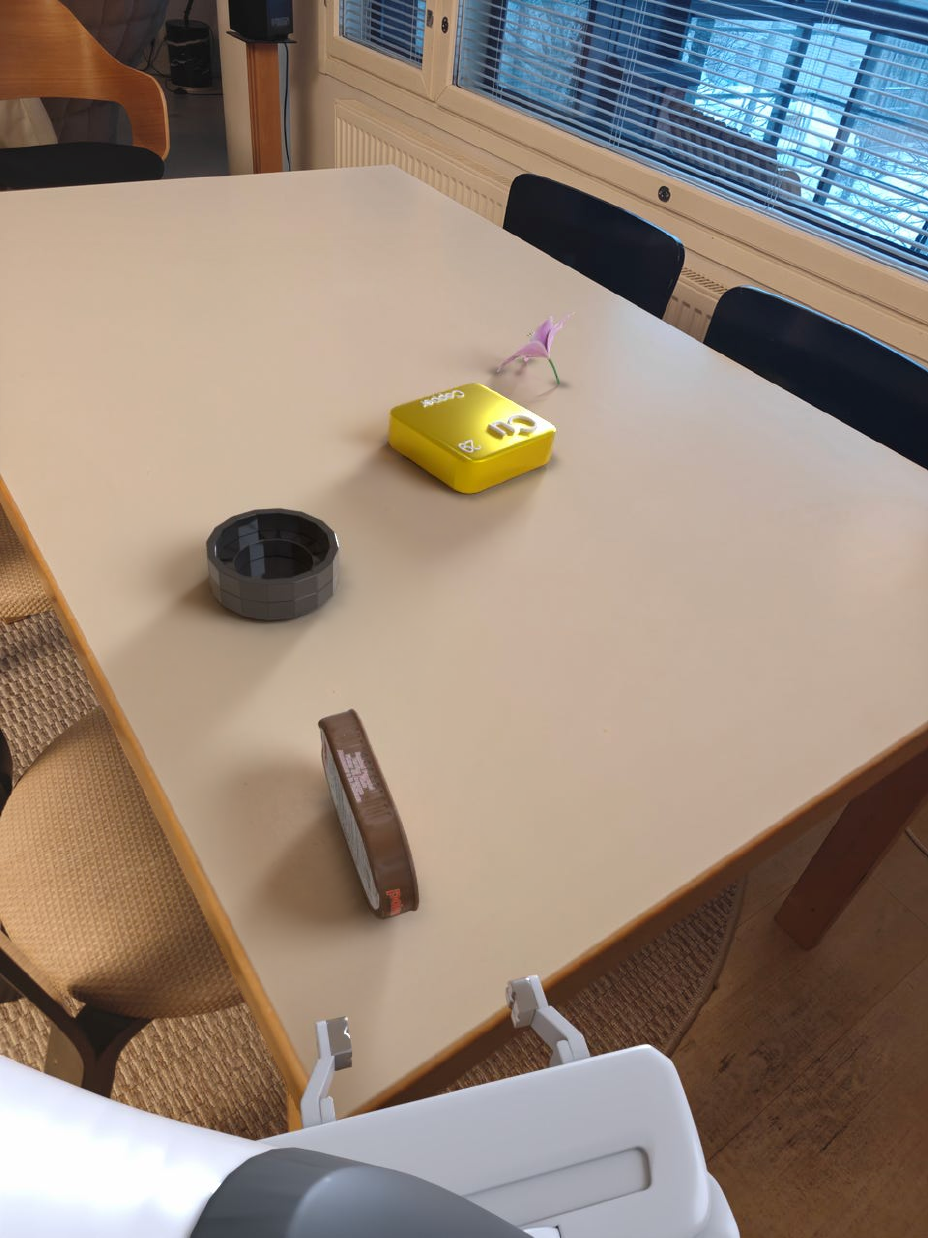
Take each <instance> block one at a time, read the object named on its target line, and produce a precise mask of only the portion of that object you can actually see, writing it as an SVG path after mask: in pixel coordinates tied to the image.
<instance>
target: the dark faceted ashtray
mask: <svg viewBox="0 0 928 1238" xmlns="http://www.w3.org/2000/svg"><path fill="white" fill-rule="evenodd" d="M335 532H336V531H334V530H333V529H332V528H331V527H330V526H329V525H328V524H327V523H326V522H325V521H323V520H322V519H320V518H318V517H315V516H314V515H311V514H309V513H306V512H303V511H300V510H294V509H287V508H282V507H275V508H258V509H252V510H249V511H245V512H242V513H238V514H234V515H232V516H230V517H228V518H227V519H226V520H224V521H222V522H221V523H219V524H218V525H217V526H215V527H214V528H213V530H212V531H211V533H210V534H209V536H208V538H207V539H206V541H205V549H206V560H207V562H206V563H207V569H208V578H209V586H210V587H209V588H210V592H211V593H212V595H213V596H214V597H215V598H216V599H217V601H218V602H219V603H220V605H221V606H223V607H224V608H226V609H228V610H230V611H232V612H234V613H236V614H238V615H240V616H242V617H245V618H246V617H247V618H252V619H258V620H264V621H275V620H286V619H294V618H298V617H301V616H304V615H306V614H308V613H311V612H314V611H316V610H318V609H319V608H320V607H322V606H324V604H325V603H327V602H328V601H329V600H330V599H331V598H332V597H334V594H335V592H336V589H337V588H338V587H337V586H338V584H339V579H340V576H339V575H340V546H339V542H338V539H337V535H336V533H335Z"/></svg>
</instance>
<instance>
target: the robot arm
mask: <svg viewBox="0 0 928 1238" xmlns="http://www.w3.org/2000/svg"><path fill="white" fill-rule="evenodd" d="M506 984H507V986H506V987H505V994H504V995H505V1000H506V1005H507V1007H508V1008H509V1009H510V1010H511V1014H510V1017H511V1021H512V1024H513V1028H514V1029H520V1028H525V1027H531V1028H532V1030H533V1031H534V1032H535V1033H536V1034H537V1035H538V1036H539V1037H540V1038H541V1039H542V1040H543V1041H544V1042H545V1043H546V1045H548V1047H549V1048H550V1049H551V1050H552V1051H553V1052H552V1054H551V1056H550V1060H549V1062H548V1064H549V1067H547V1068H543V1069H539V1070H535V1071H531V1072H527V1073H523V1074H519V1075H514V1076H511V1077H507V1078H502V1079H497V1080H495V1081H490V1082H486V1083H483V1084H478V1085H473V1086H470V1087H466V1088H462V1089H457V1090H455V1091H449V1092H446V1093H442V1094H438V1095H433V1096H429V1097H426V1098H422V1099H418V1100H414V1101H410V1102H406V1103H402V1104H398V1105H397V1104H396V1105H394V1106H390V1107H385V1108H382V1109H381V1108H380V1109H378V1110H373V1111H370V1112H366V1113H361V1114H357V1115H354V1116H350V1117H346V1118H342V1119H341V1118H340V1119H337V1118H336V1112H335V1106H334V1100H333V1097H332V1096H327V1095H328V1093H329V1090H330V1087H331V1084H332V1081H333V1078H334V1076H335V1073H336V1072H337V1071H341V1070H344V1069H348V1068H352V1067H353V1059H352V1057H353V1047H352V1041H351V1035H349V1022H348V1017H347V1016H346V1015H345V1016H340V1017H334V1018H330V1019H326V1020H321V1021H316V1022H314V1025H315V1026H314V1029H315V1042H316V1048H317V1049H316V1050H317V1051H316V1052H317V1057H318V1058H317V1059H316V1061H315V1064H314V1066H313V1069H312V1071H311V1074H310V1076H309V1079H308V1082H307V1084H306V1086H305V1089H304V1092H303V1094H302V1096H301V1099H300V1102H299V1107H300V1109H299V1110H300V1121H301V1122H300V1123H301V1129H297V1130H293V1131H289V1132H286V1133H281V1134H277V1135H273V1136H269V1137H265V1138H261V1139H257V1140H254V1139H253V1140H252V1139H248V1138H245V1137H242V1136H238V1135H235V1134H230V1133H227V1132H226V1133H225V1132H223V1131H218V1130H214V1129H210V1128H207V1127H204V1126H199V1125H195V1124H191V1123H188V1122H184V1121H179V1120H176V1119H172V1118H170V1117H166V1116H163V1115H160V1114H156V1113H152V1112H149V1111H146V1110H144V1109H143V1110H142V1109H140V1108H137V1107H133V1106H132V1105H128V1104H125V1103H122V1102H119V1101H116V1100H113V1099H111V1098H108V1097H106V1096H103V1095H101V1094H98V1093H95V1092H93V1091H90V1090H88V1089H85V1088H83V1087H80V1086H77V1085H74V1084H72V1083H70V1082H67V1081H64V1080H63V1079H60V1078H58V1077H54V1076H53V1075H50V1074H47V1073H45V1072H42V1071H40V1070H38V1069H35V1068H33V1067H30V1066H28V1065H26V1064H24V1063H21V1062H19V1061H16V1060H15V1059H12V1058H9V1057H8V1056H6V1055H3V1054H0V1238H741V1236H740V1230H739V1228H738V1224H737V1222H736V1219H735V1217H734V1215H733V1212H732V1209H731V1208H730V1205H729V1203H728V1200H727V1198H726V1196H725V1194H724V1191H723V1188H722V1187H721V1186H720V1184H719V1182H718V1181H717V1179H716V1178H715V1177H714V1175H712V1174H711V1173H710V1172H709V1171H708V1169H707V1164H706V1160H705V1155H704V1152H703V1147H702V1145H701V1140H700V1137H699V1133H698V1129H697V1126H696V1123H695V1119H694V1116H693V1113H692V1109H691V1107H690V1104H689V1101H688V1099H687V1095H686V1093H685V1092H686V1091H685V1089H684V1087H683V1084H682V1081H681V1078H680V1076H679V1074H678V1071H677V1068H676V1066H675V1065H674V1063H673V1061H672V1060H671V1059H670V1058H669V1057H667V1056H666V1055H665V1054H663V1053H662V1052H661V1051H660V1050H658V1049H656V1048H655V1047H654V1046H653V1045H651V1044H647V1043H646V1044H639V1045H635V1046H631V1047H627V1048H624V1049H619V1050H615V1051H612V1052H607V1053H602V1054H599V1055H595V1056H591V1054H590V1052H589V1049H588V1045H587V1043H586V1039H585V1037H584V1035H583V1034H582V1032H580V1031H579V1030H578V1029H577V1028H576V1027H575V1026H574V1025H573V1024H571V1022H570V1021H568V1020H567V1019H566V1018H565V1017H564V1016H563V1015H562V1014H561V1013H560V1012H559V1011H557V1010H556V1009H555V1008H554V1007H553V1006H552V1005H549V1003H548V1000H547V998H546V994H545V992H544V989H543V986H542V983H541V980H540V978H539V976H538V974H531V975H526V976H523V977H520V978H515V979H511V980H507V982H506Z"/></svg>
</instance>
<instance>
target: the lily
mask: <svg viewBox="0 0 928 1238" xmlns="http://www.w3.org/2000/svg"><path fill="white" fill-rule="evenodd" d="M574 314H576V311H574V312H572V313H570V314H568V315H567V316H565V317H564V318H562V319H561V320H559V321H558V322H557V323H555V324H554V320H553V316H552V315H549V316H548V317H547V318H545V320H543V322H541V324H539V325H538V326H537V327H536V329H534V331H533V332H529V334H526V336H527V337H529V342H528V343H526V344H525V345H523V346H521V347H520V348H518V349H517V350H516V351H515V352H514V353H513V354H512V355H510V356H509V357H508V358H507V359H506V360H505V361H504V362H503V363H502V364H501V365H500V366H499V367H498V368H497V370H496V371H495V372H496V373H497V372H499V371H500V370H501V369H502V368H505V366H506V365H508V364H510V363H511V362H512V361H514V360H515V359H517V358H519V357H522V356H523V360H524V361H525V362H528V361H529V359H530V358H545V359H547V360H548V362H549V364H550V366H551V368H552V371H553V374H554V376H555V380H556V383H557V385H560V384H561V382H560V379H559V376H558V373H557V371H556V367H555V366H554V363H553V361H552V359H551V356H550V350H551V346H552V342H553V340H554V336H555V334H556V332H557V331H558V330H560V329H562V328H563V324H564V323H565V322H566V321H567V320H568V319H570V317H572V316H573V315H574ZM531 333H532V334H531Z"/></svg>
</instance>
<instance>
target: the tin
mask: <svg viewBox="0 0 928 1238" xmlns="http://www.w3.org/2000/svg"><path fill="white" fill-rule="evenodd" d="M317 727H318V728H319V733H320V741H321V742H320V743H321V750H320V751H321V753H320V754H321V755H320V757H321V762H322V768H323V770H324V774H325V779H326V783H327V787H328V790H329V794H330V797H331V800H332V804H333V807H334V810H335V812H336V813H335V814H336V815H337V818H338V822H339V825H340V828H341V832H342V834H343V837H344V840H345V843H346V847H347V849H348V852H349V856H350V858H351V861H352V865H353V867H354V870H355V872H356V873H355V874H356V875H357V878H358V881H359V883H360V886H361V889H362V892H363V895H364V897H365V899H366V902H367V905H368V907H369V909H370V912H371V913H372V915H373V916H374V917H375V918H376V919H377V920H380V921H381V920H387V919H391V918H393V917H397V916H400V915H402V914H406V913H409V912H416V911H418V909H419V907H420V892H419V890H420V889H419V884H418V877H417V873H416V871H417V870H416V867H415V862H414V859H413V858H414V857H413V854H412V851H411V847H410V843H409V839H408V836H407V833H406V830H405V827H404V823H403V821H402V818H401V816H400V813H399V811H398V808H397V805H396V803H395V800H394V798H393V795H392V793H391V791H390V787H389V785H388V782H387V779H386V778H385V775H384V773H383V771H382V768H381V766H380V763H379V760H378V758H377V756H376V753H375V750H374V748H373V744H372V743H371V740H370V739H369V735H368V733H367V730H366V728H365V725H364V723H363V721H362V719H361V717H360V715H359V713H358V712H357V710H356V709H354V708H349V709H348V710H347V711H343V712H339V713H335V714H331V715H328V716H325V717H323V718H321V719H319V720H318V722H317Z"/></svg>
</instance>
